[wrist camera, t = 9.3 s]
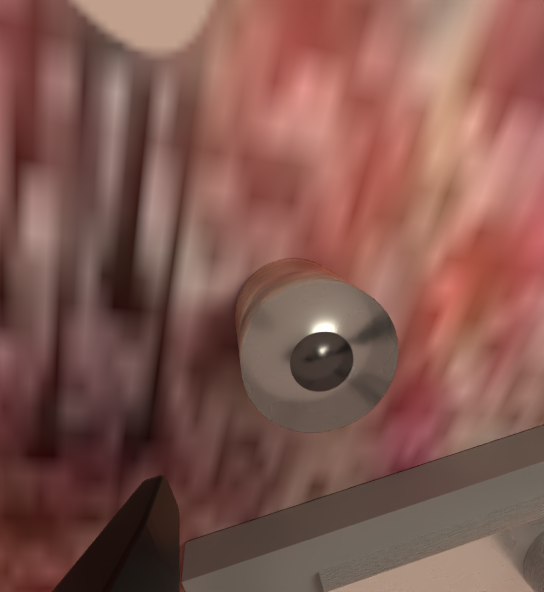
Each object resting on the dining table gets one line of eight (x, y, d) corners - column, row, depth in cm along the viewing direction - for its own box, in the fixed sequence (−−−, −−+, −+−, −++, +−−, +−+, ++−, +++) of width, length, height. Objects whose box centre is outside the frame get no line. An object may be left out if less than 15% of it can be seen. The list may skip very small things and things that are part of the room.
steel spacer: (333, 244, 16) (384, 262, 11) (355, 348, 17) (409, 406, 12) (220, 276, 15) (220, 310, 10) (252, 380, 17) (265, 453, 12)
